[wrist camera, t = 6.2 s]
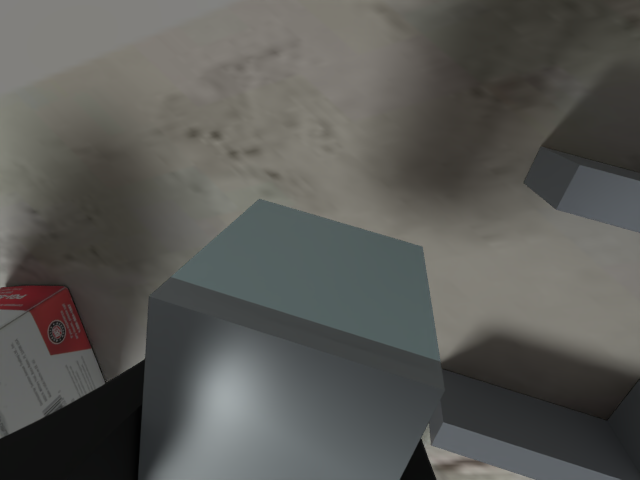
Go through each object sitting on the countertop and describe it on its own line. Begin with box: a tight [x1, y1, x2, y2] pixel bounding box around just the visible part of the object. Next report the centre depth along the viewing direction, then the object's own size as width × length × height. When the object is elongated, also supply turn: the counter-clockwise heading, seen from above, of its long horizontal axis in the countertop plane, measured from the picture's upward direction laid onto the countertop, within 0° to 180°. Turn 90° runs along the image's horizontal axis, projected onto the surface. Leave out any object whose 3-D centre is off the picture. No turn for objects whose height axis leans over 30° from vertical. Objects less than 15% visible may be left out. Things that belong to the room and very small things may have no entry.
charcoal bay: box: [429, 147, 640, 480], centre depth 16 cm, size 10×13×4 cm
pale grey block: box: [138, 199, 445, 480], centre depth 9 cm, size 4×8×5 cm, turn 166°
